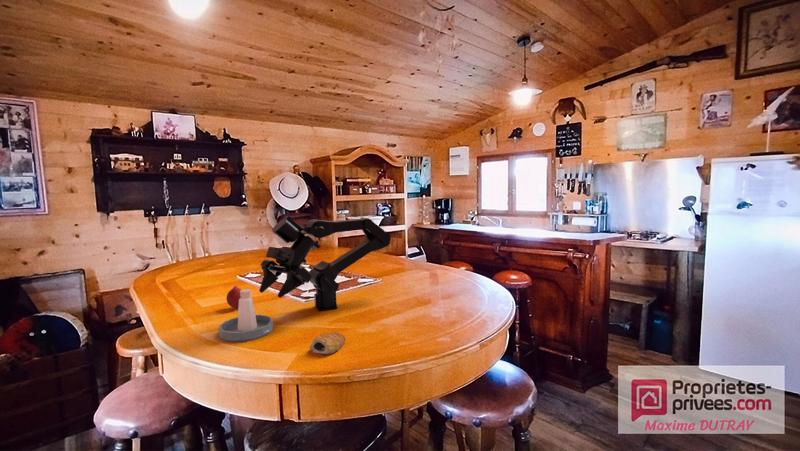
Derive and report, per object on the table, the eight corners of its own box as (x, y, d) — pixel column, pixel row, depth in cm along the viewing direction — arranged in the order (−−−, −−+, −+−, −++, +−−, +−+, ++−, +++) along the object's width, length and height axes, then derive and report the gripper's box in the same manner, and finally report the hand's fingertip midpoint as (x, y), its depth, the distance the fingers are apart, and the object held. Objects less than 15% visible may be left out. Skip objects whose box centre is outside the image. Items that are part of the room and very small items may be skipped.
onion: (238, 311, 122) (237, 288, 122) (223, 310, 124) (221, 287, 123) (249, 306, 128) (248, 283, 127) (234, 305, 129) (233, 282, 129)
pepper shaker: (233, 328, 105) (231, 290, 104) (251, 323, 109) (249, 286, 108) (242, 333, 101) (240, 293, 100) (261, 327, 105) (259, 289, 104)
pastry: (331, 338, 100) (330, 325, 99) (352, 343, 97) (351, 329, 96) (307, 352, 92) (307, 337, 91) (329, 358, 89) (329, 342, 88)
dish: (271, 320, 114) (270, 312, 114) (275, 336, 101) (274, 327, 101) (220, 327, 109) (220, 319, 109) (218, 345, 96) (217, 336, 96)
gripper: (264, 234, 118) (233, 275, 111) (301, 238, 107) (270, 284, 100) (286, 255, 125) (258, 294, 118) (323, 260, 114) (295, 305, 107)
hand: (269, 294), depth 110 cm, fingers open, 9 cm apart
